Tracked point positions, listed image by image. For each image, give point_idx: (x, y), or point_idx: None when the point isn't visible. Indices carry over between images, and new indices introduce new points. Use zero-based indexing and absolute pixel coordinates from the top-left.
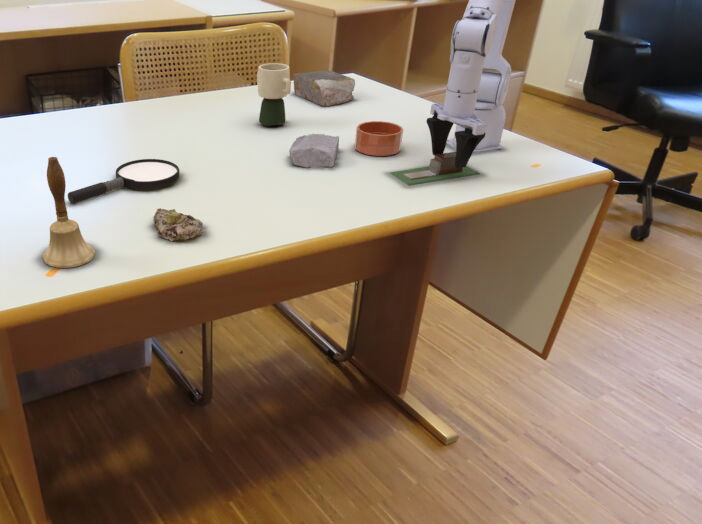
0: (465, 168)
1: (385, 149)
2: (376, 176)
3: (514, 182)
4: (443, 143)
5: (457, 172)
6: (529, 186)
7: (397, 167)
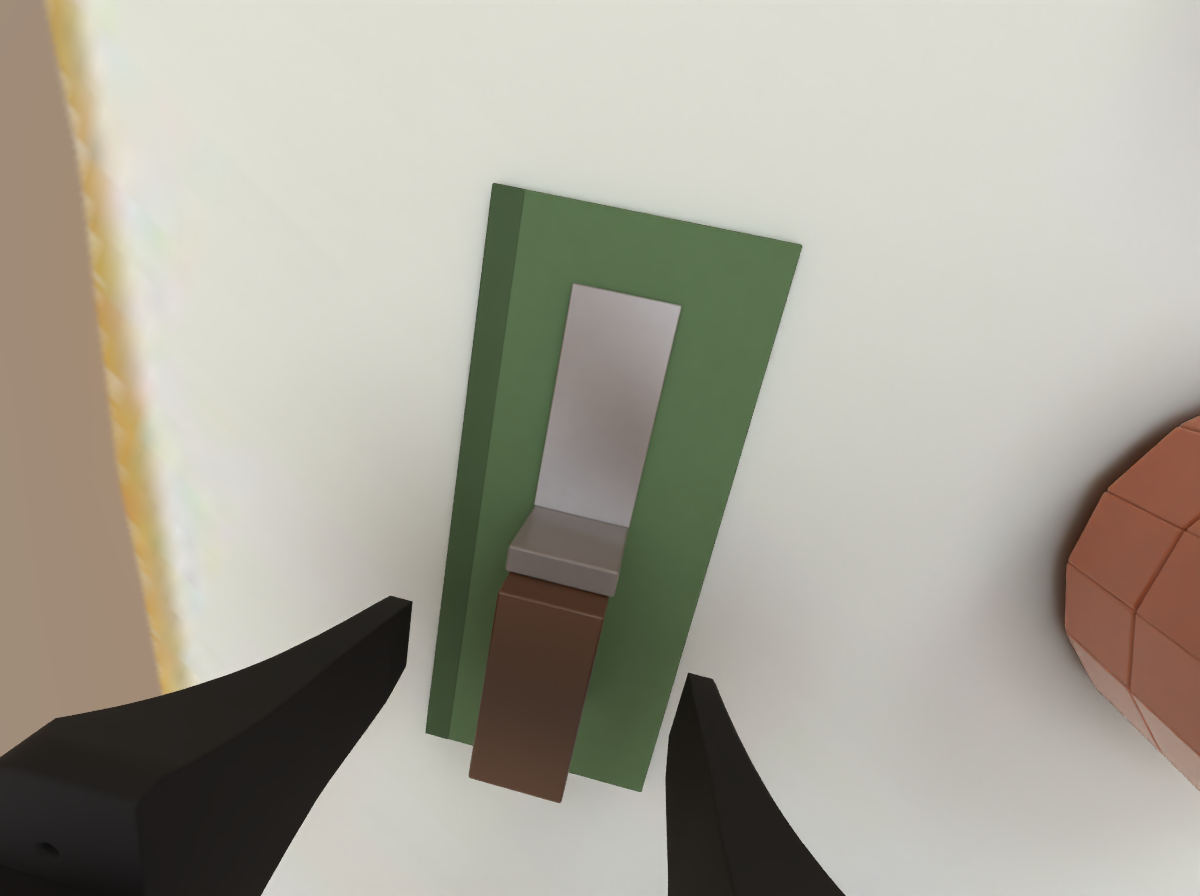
0: None
1: (1156, 510)
2: (836, 99)
3: None
4: (672, 809)
5: None
6: None
7: (862, 420)
